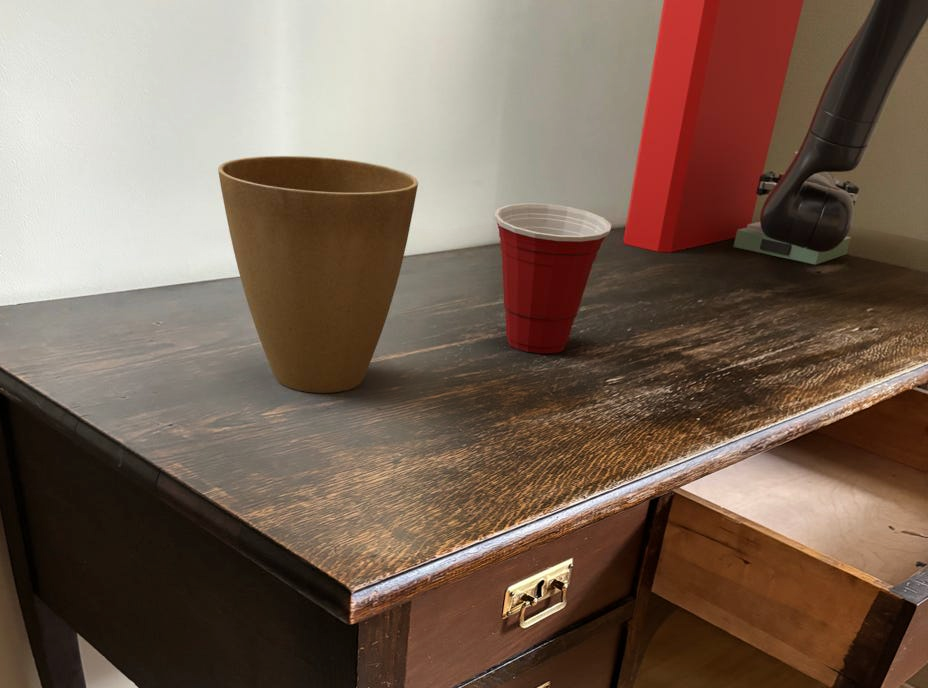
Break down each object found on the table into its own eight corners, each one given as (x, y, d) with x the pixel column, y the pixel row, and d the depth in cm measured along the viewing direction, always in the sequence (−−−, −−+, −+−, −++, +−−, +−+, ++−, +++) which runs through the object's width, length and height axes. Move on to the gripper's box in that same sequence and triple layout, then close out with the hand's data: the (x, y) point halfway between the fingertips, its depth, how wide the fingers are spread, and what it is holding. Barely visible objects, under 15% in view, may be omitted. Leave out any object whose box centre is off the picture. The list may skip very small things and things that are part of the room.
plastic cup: (484, 358, 90) (498, 220, 83) (478, 326, 99) (490, 199, 92) (599, 367, 90) (622, 231, 84) (583, 334, 99) (603, 208, 93)
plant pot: (212, 355, 84) (201, 152, 75) (374, 349, 90) (381, 158, 81) (248, 416, 73) (241, 186, 64) (431, 405, 78) (447, 191, 69)
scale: (846, 254, 149) (853, 231, 147) (814, 265, 140) (821, 241, 138) (767, 238, 155) (772, 216, 153) (731, 247, 146) (737, 224, 144)
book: (704, 225, 160) (752, -6, 143) (748, 234, 156) (804, -2, 139) (618, 242, 142) (661, -20, 124) (665, 253, 138) (717, -17, 120)
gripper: (871, 174, 127) (864, 160, 141) (760, 160, 130) (764, 148, 144) (853, 234, 131) (849, 215, 145) (746, 219, 134) (751, 202, 148)
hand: (806, 182), depth 144 cm, fingers closed on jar, 5 cm apart
